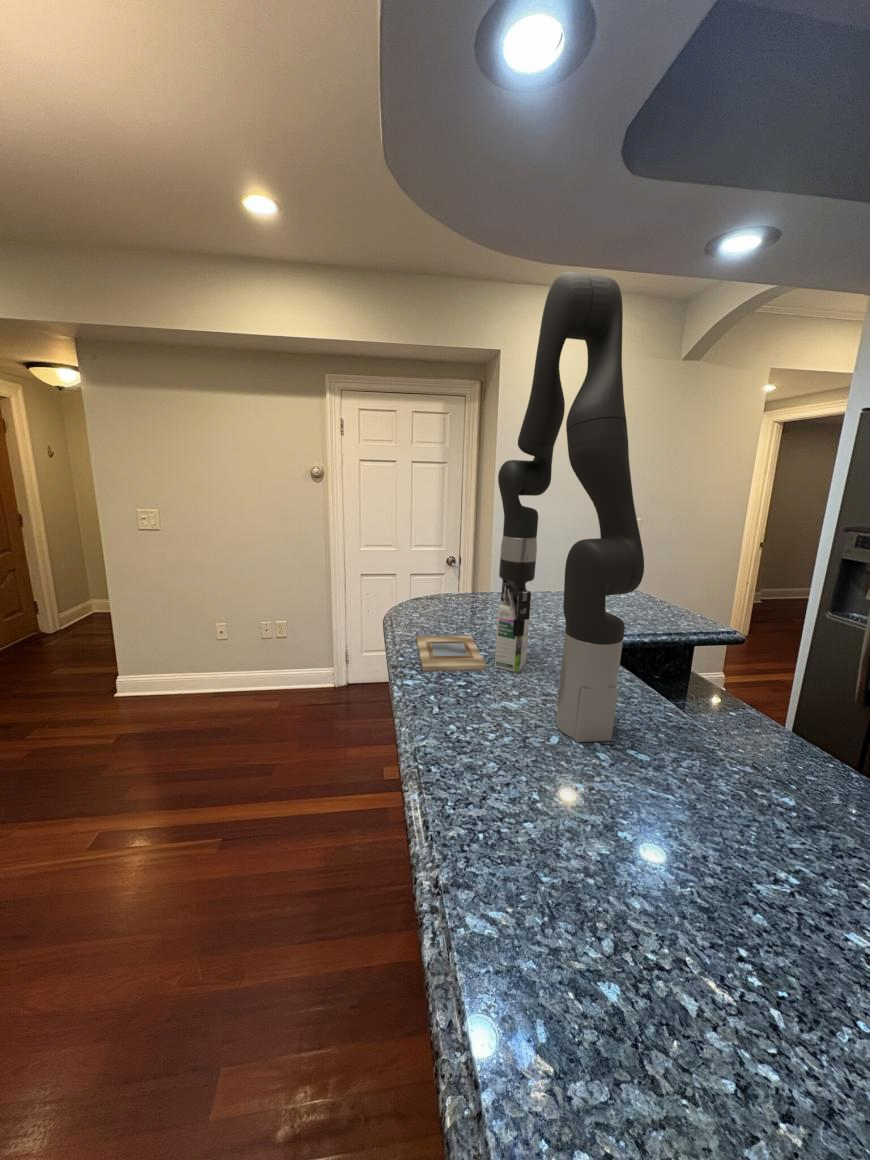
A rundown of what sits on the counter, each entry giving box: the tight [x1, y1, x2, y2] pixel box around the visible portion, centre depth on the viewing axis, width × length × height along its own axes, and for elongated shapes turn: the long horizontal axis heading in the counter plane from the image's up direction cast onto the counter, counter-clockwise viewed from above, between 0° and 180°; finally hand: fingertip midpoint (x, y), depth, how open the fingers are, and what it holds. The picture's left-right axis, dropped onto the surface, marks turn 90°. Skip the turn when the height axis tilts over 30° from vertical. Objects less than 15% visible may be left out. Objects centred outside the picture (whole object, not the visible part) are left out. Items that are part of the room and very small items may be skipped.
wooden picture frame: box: [415, 635, 487, 672], centre depth 113 cm, size 18×14×1 cm
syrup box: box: [494, 601, 531, 674], centre depth 106 cm, size 6×6×14 cm
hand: (512, 629), depth 106 cm, fingers closed on syrup box, 8 cm apart
